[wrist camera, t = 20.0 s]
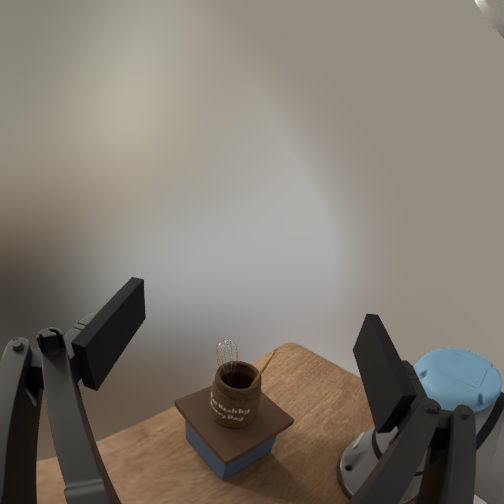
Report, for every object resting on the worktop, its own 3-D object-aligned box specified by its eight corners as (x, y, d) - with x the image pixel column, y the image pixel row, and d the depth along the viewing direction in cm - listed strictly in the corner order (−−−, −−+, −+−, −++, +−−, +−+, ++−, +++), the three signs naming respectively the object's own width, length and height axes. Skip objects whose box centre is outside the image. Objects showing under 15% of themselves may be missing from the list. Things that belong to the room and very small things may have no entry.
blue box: (279, 452, 36) (294, 419, 33) (220, 488, 29) (225, 462, 25) (234, 409, 43) (240, 372, 40) (176, 435, 36) (174, 400, 33)
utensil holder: (221, 389, 36) (230, 318, 32) (265, 405, 34) (283, 336, 30) (200, 417, 31) (204, 346, 27) (247, 437, 29) (265, 369, 25)
